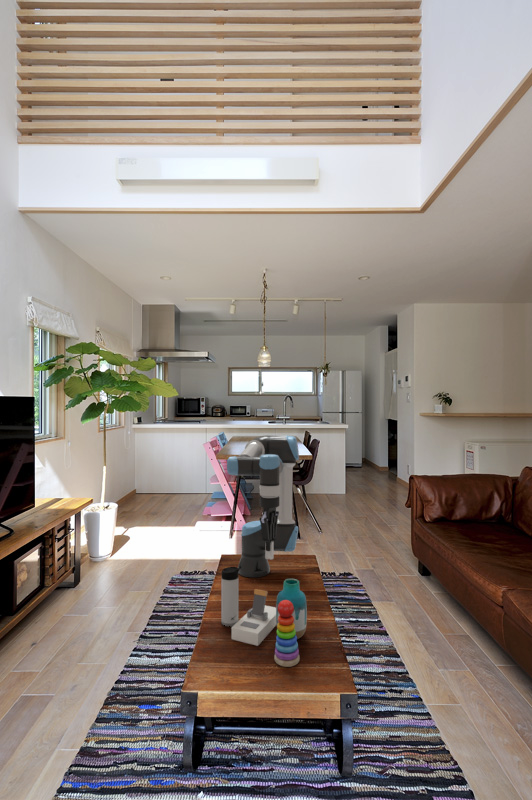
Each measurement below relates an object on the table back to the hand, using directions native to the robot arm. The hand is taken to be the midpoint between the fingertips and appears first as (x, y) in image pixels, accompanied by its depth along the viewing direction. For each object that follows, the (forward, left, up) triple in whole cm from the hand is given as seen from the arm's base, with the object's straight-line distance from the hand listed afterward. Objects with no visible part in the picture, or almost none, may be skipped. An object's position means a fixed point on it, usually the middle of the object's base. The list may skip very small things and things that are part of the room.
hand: (269, 558), depth 172 cm
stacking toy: (+24, +17, -22) cm, 37 cm away
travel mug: (+10, -11, -22) cm, 27 cm away
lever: (+10, 0, -17) cm, 20 cm away
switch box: (+10, 0, -22) cm, 24 cm away
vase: (+10, +13, -22) cm, 28 cm away
